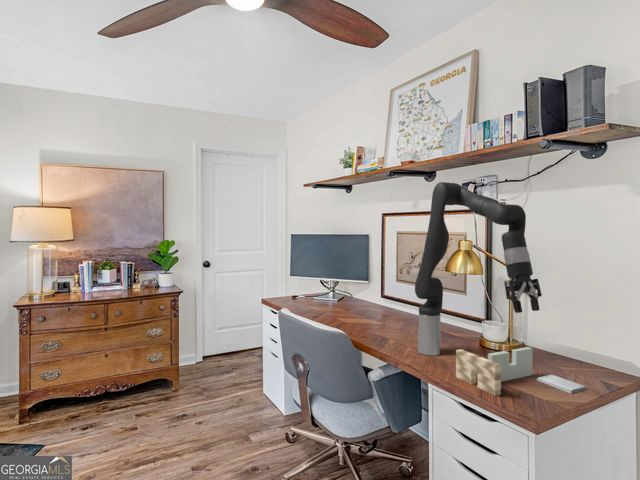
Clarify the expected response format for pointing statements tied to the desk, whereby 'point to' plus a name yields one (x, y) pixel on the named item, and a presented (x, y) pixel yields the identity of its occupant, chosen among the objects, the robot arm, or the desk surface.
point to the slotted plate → (514, 363)
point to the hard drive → (561, 383)
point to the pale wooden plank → (479, 371)
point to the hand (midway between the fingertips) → (527, 311)
